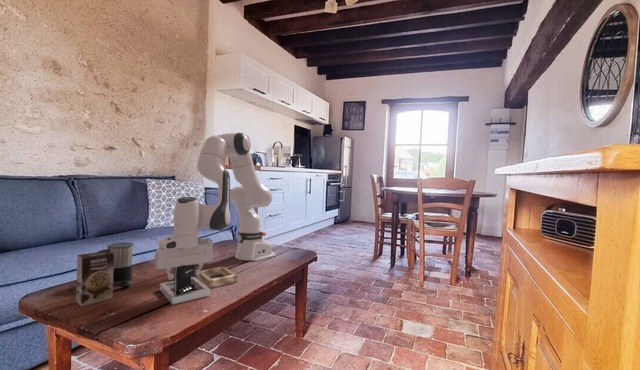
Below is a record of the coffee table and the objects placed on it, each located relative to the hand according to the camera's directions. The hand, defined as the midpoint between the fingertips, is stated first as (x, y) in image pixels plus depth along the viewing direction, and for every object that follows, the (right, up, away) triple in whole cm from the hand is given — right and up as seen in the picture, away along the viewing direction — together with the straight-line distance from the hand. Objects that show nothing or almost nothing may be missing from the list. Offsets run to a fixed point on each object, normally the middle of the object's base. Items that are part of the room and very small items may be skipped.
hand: (184, 276), depth 111 cm
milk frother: (-29, -5, +7) cm, 30 cm away
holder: (0, -6, 0) cm, 6 cm away
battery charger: (0, -6, 0) cm, 6 cm away
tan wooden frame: (+7, -6, +15) cm, 17 cm away
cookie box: (-27, -5, -9) cm, 29 cm away
